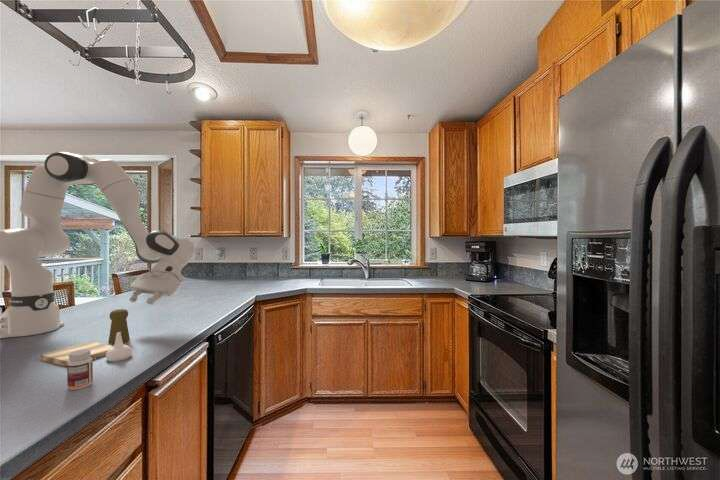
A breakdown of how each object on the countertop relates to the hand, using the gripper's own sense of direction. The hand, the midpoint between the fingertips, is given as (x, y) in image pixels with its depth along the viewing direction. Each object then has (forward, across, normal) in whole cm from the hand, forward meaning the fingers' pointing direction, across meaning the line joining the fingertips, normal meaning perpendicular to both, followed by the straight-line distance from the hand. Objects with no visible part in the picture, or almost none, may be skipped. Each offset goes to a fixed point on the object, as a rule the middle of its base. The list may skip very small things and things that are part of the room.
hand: (140, 302), depth 120 cm
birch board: (+23, +3, -6) cm, 24 cm away
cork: (+14, 0, +4) cm, 14 cm away
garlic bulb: (+21, +16, -3) cm, 27 cm away
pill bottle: (+32, +26, -14) cm, 43 cm away
